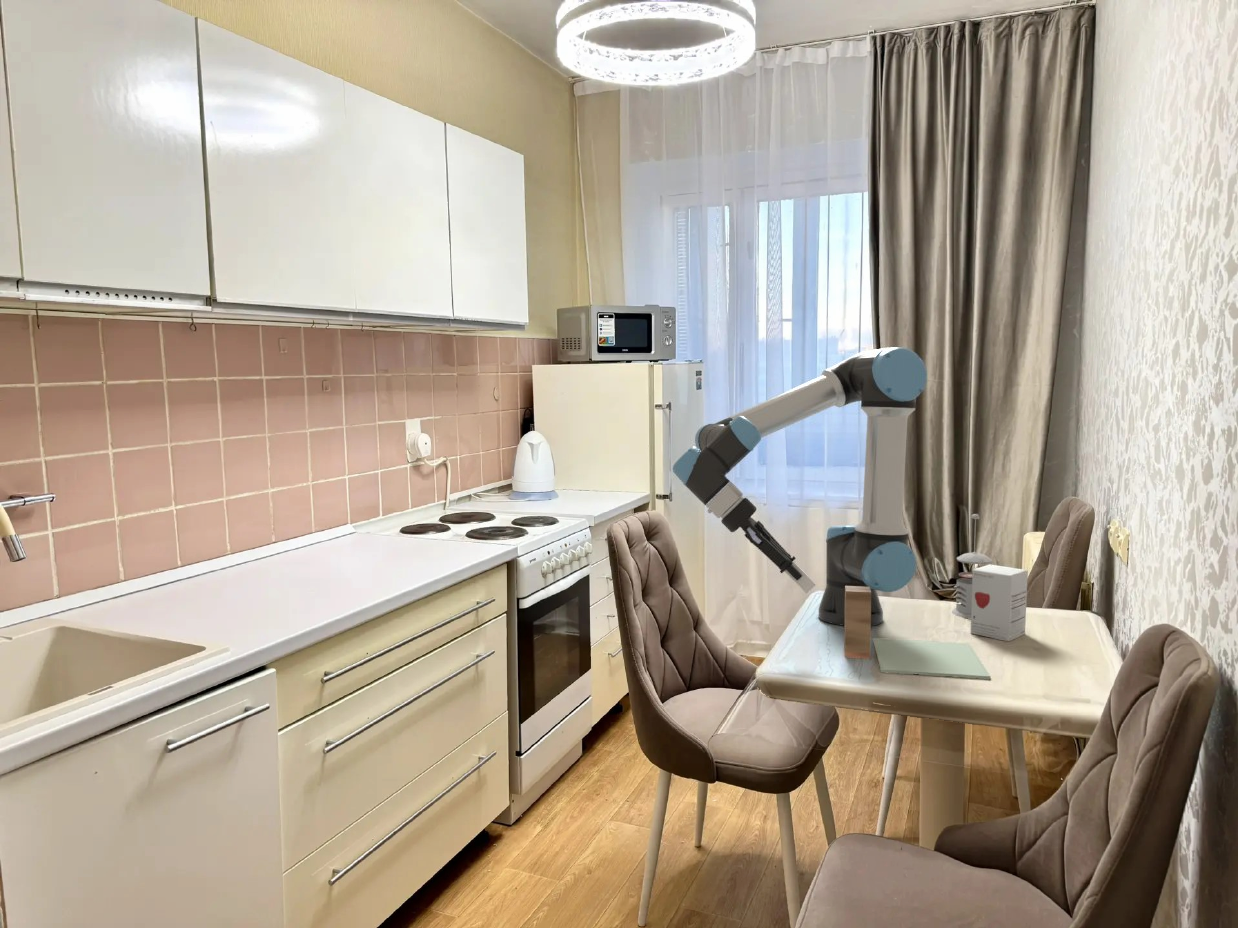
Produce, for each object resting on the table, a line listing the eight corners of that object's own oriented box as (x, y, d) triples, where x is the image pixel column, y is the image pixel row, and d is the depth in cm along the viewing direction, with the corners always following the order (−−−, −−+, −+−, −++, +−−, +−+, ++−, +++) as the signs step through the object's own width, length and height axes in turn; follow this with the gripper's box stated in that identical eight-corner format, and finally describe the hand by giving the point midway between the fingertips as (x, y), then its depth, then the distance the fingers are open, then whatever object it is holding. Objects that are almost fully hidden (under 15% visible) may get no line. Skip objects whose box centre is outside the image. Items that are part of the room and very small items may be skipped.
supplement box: (968, 633, 191) (970, 568, 189) (986, 626, 197) (988, 563, 195) (1009, 642, 184) (1011, 575, 183) (1026, 634, 190) (1028, 569, 189)
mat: (872, 640, 186) (872, 637, 186) (969, 645, 181) (969, 643, 181) (881, 672, 164) (881, 669, 164) (990, 679, 160) (990, 676, 160)
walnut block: (844, 650, 179) (845, 585, 178) (868, 651, 178) (869, 586, 177) (845, 657, 174) (846, 591, 173) (870, 658, 173) (871, 592, 172)
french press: (986, 608, 212) (989, 511, 210) (1003, 621, 201) (1006, 517, 199) (946, 608, 213) (949, 511, 211) (960, 620, 202) (963, 517, 200)
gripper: (722, 515, 186) (798, 593, 184) (716, 524, 174) (797, 607, 171) (747, 492, 185) (823, 570, 182) (742, 499, 172) (824, 583, 170)
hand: (811, 588), depth 177 cm, fingers closed
